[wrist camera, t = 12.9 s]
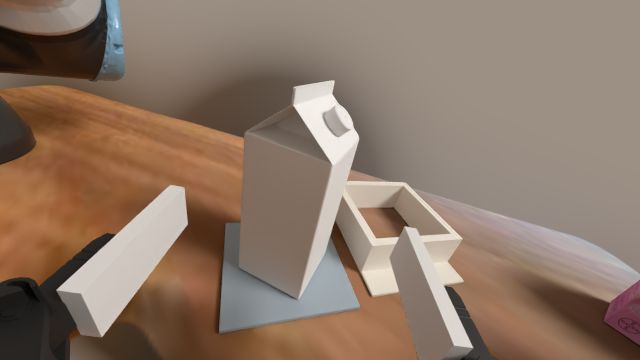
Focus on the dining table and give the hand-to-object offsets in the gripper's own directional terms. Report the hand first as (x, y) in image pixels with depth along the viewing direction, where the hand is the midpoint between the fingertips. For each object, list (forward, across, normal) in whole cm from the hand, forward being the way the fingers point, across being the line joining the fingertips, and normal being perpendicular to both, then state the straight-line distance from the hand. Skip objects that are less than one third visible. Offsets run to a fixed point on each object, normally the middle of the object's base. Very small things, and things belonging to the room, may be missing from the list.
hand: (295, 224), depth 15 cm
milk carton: (+8, 0, -12) cm, 14 cm away
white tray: (+16, +13, -12) cm, 24 cm away
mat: (+8, 0, -12) cm, 14 cm away
